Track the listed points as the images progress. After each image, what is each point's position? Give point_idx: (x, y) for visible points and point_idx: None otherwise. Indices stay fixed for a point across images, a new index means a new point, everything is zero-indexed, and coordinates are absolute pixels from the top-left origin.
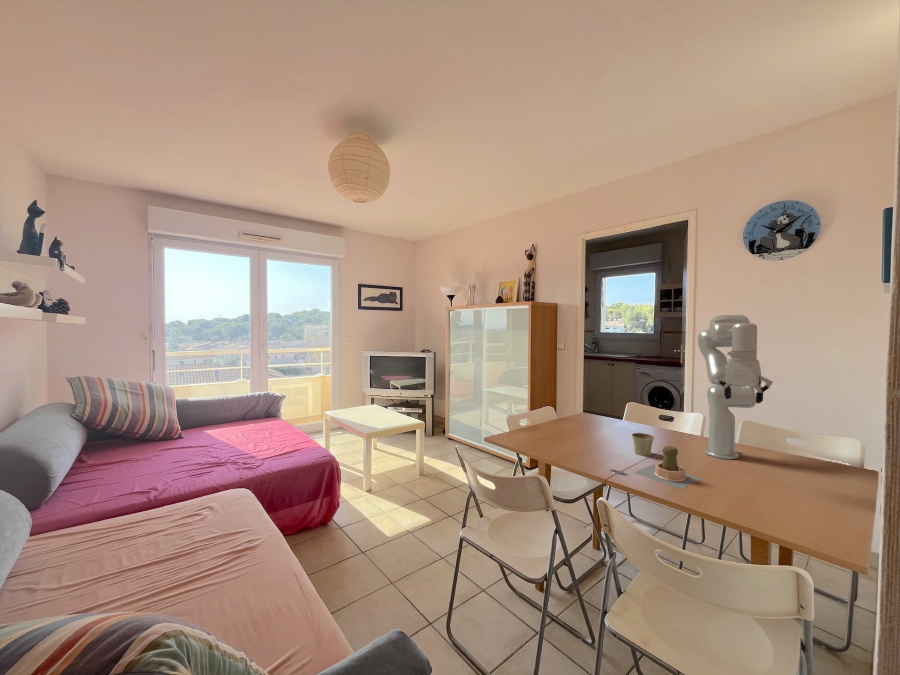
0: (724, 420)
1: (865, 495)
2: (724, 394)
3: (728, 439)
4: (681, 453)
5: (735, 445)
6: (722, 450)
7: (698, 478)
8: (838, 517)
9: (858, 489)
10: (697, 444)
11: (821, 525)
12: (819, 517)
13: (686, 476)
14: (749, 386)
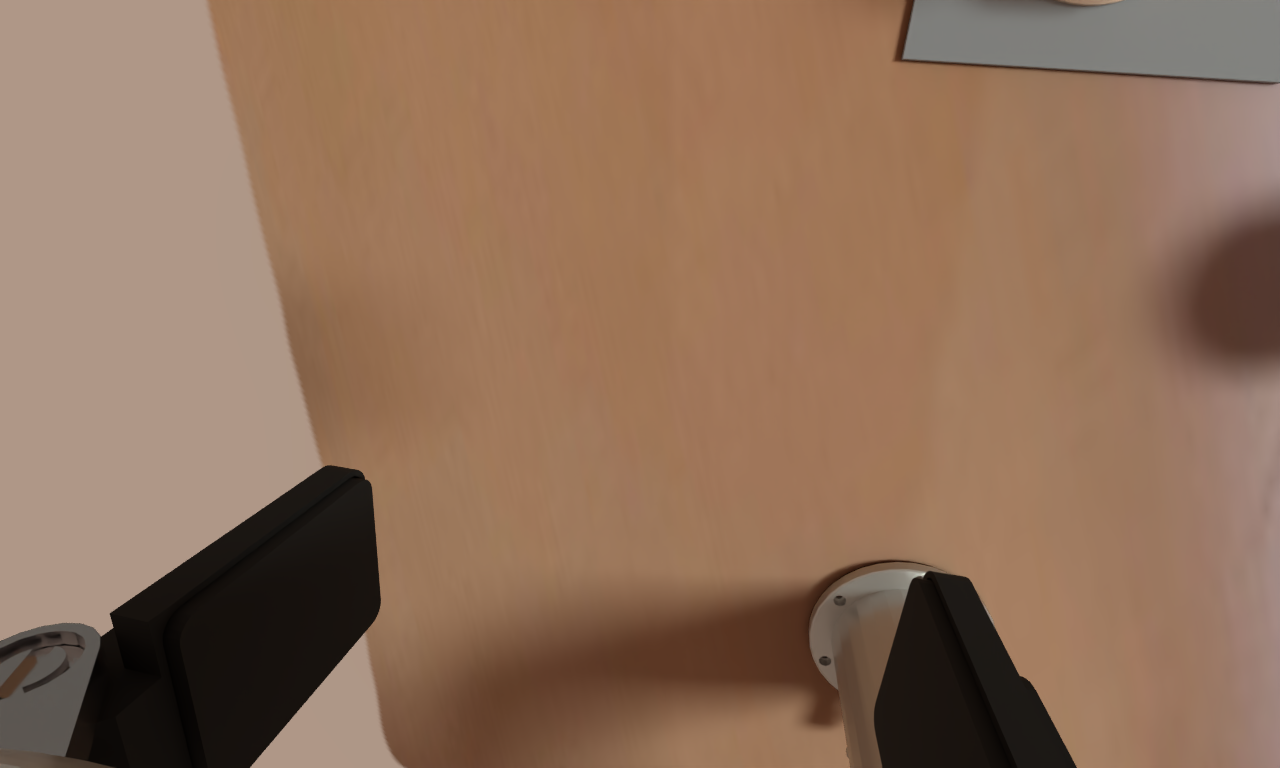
0: None
1: None
2: (1038, 700)
3: (872, 682)
4: (1122, 503)
5: (847, 752)
6: (890, 610)
7: (924, 37)
8: (305, 91)
9: None
10: None
11: None
12: (344, 8)
13: (1004, 3)
14: (73, 761)
